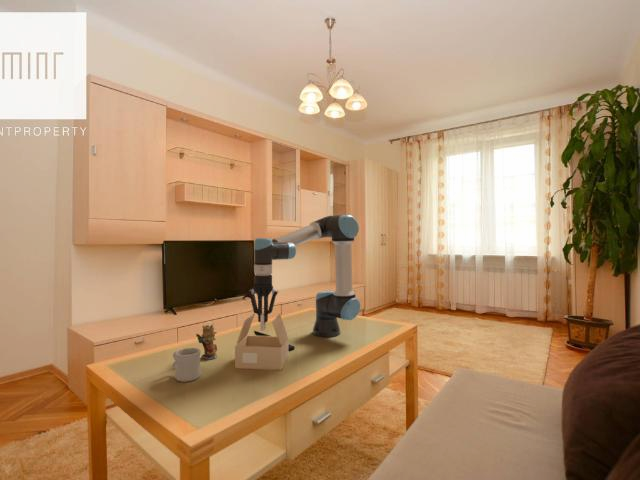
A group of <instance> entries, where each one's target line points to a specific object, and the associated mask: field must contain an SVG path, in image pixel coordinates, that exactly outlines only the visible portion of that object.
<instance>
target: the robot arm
mask: <svg viewBox="0 0 640 480" xmlns="http://www.w3.org/2000/svg"><path fill="white" fill-rule="evenodd" d="M359 229H360V227H359V223H358V221H357V219H356V218H355V217H354V216H352V215H351V214H338V215H327V216H324V217H322V218H319V219H316V220H314V221H312V222H311V223H309V225H306V226H304V227H300V228H299V229H296V230H294V231H291V232H288V233H286V234H283V235H280V236H278V237H275V238H273V239H272V238H271V237H269V238H268V237H265V238H263V237H262V238H261V237H260V238H259V237H257V238H256V239H254V243H253V245H254V246H253V252H254V253H253V254H254V255H253V256H254V257H253V259H254V260H253V261H254V264H253V271H254V272H253V273H254V276H253V277H254V278H253V287H252V289H249V290H248V291H247V293H248V296H249V297H250V303H251V305H252V310H253V314H256V315H257V318H258V319H257V321H258V323H260V325H259V327H260V328H259V330H260V331H265V330H266V328H267V327H266V323H267V322H268V319H269V315H271V313H272V312H273V310H274V306H275V301H276V296H278V294H279V290H277V289H275V288H274V286H273V275H272V273H273V261H275V260H276V261H277V260H279V261H280V260H290V259H293V258H294V259H295V256H296V254H297V247H298V246H300V245H302V244H305V243H307V242H310V241H312V240H320V239H323V238H331V243H333V244H334V261H335V262H334V264H335V265H334V266H335V267H334V268H335V273H334V274H335V290H327V291H325V290H324V291H318V292H317V293H316V296H315V297H316V298H315V316H316V317H315V321H314V325H313V327H312V333H313V335H315V336H318V337H323V338H331V336H333V337H336V335H337V336H339V335H340V334H341V328H340V325H339V321H338V319H341V320H343V321H353V320H354V319H355V318H356V317H358V315H359V313H360V310H361V301H360V300H359V299H358V298H356V292H355V291H354V290H353V266H352V264H353V262H352V261H353V260H352V244H353V243H354V242H355V238H356V237H357V235H358V233H359ZM255 293H256V294H255ZM270 294H271V299H270V303H269V296H270ZM255 295H256V296H257V300H256V296H255ZM338 334H339V335H338Z"/></svg>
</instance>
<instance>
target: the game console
mask: <svg viewBox="0 0 640 480" xmlns="http://www.w3.org/2000/svg"><path fill="white" fill-rule="evenodd" d="M253 333H254V336H271V335H270V334H267V333H263V332H259V331H258V330H257V331H256V330H254V331H253ZM295 349H296V347H295V345H292V344H289V343H288V352H291V351H293V350H295Z"/></svg>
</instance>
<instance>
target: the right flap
mask: <svg viewBox="0 0 640 480" xmlns="http://www.w3.org/2000/svg"><path fill="white" fill-rule="evenodd" d="M271 324H272V326H273V328H274V331H275V334H276V335H275V336H277V337H278V340H279V343H280V345H282V344H283V342H284V341H285V339H286V337H289V335H288V333H287V330H286V328H285V327H286V326H285V324H284V321H283V318H282V317H281V314H278V315H277V316H276V317H275V319H273V320H272V323H271Z"/></svg>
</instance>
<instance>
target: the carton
mask: <svg viewBox="0 0 640 480" xmlns="http://www.w3.org/2000/svg"><path fill="white" fill-rule="evenodd" d="M288 344H289V336H287V337H286V339H285V341H284V342H283V344H282V345H280V343H279V340H278V337H277V335H275V336H274V335H270V336H256V335H250V334H247V336H245V337H244V338H243V339H242V340H241V341H240V342H239V343H238V344H237V343H236V345H235V346H234V369H243V370H246V369H247V370H261V371H262V370H263V371H265V370H266V371H283V369H284V367H285V364H286V363H287V360H288V358H289V351H288ZM283 366H284V367H283ZM282 368H283V369H282Z"/></svg>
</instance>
